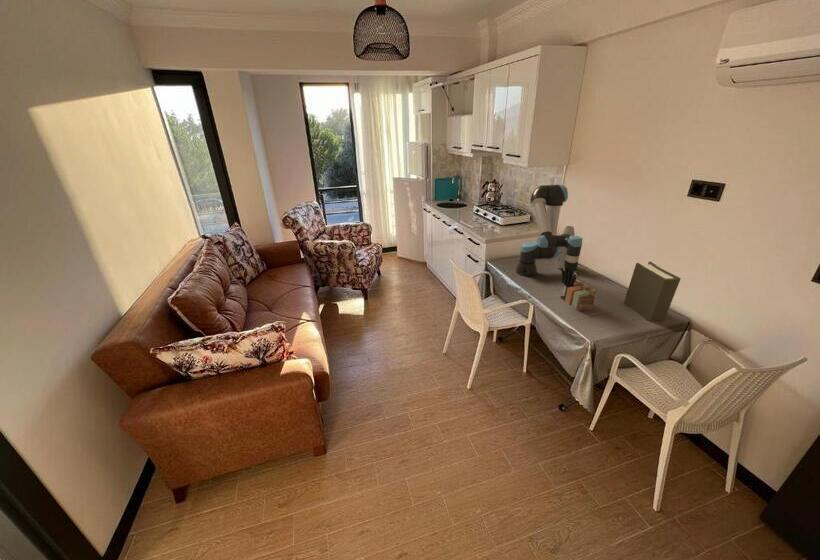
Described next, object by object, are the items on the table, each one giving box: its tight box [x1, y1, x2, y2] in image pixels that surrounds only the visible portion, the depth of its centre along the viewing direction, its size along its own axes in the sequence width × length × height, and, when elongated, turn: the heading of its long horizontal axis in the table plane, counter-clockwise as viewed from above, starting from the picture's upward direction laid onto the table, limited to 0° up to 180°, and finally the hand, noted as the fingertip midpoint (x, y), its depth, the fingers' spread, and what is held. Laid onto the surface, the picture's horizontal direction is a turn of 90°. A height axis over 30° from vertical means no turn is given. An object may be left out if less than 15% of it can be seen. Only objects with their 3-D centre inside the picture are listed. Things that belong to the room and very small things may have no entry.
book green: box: [571, 290, 590, 309], centre depth 202 cm, size 4×8×10 cm, turn 107°
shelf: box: [562, 278, 597, 312], centre depth 208 cm, size 25×11×12 cm, turn 17°
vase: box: [553, 225, 576, 270], centre depth 250 cm, size 17×17×33 cm
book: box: [623, 261, 682, 323], centre depth 189 cm, size 22×9×28 cm, turn 8°
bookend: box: [559, 285, 578, 302], centre depth 211 cm, size 5×8×10 cm, turn 107°
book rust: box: [564, 286, 583, 305], centre depth 207 cm, size 4×8×10 cm, turn 107°
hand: (565, 294), depth 214 cm, fingers closed
